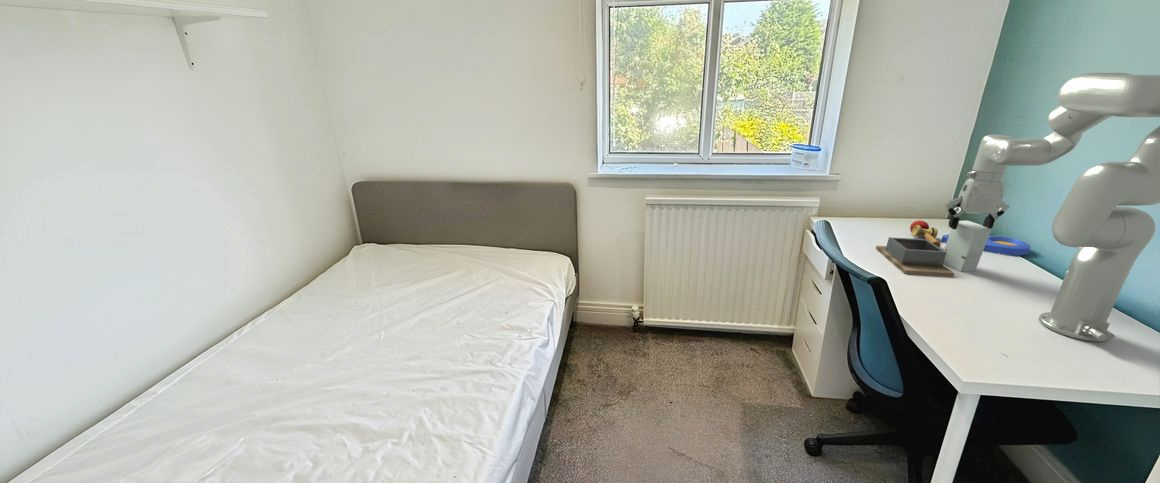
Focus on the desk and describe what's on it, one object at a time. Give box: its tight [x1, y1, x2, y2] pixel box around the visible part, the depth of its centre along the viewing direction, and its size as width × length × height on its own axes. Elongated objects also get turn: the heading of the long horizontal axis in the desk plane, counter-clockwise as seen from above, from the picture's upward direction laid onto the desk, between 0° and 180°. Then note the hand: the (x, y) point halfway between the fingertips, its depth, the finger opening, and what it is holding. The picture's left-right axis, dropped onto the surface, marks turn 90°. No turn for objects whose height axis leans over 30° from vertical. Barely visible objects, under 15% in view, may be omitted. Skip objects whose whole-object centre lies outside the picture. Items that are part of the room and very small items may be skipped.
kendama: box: [909, 219, 941, 248], centre depth 176 cm, size 8×6×18 cm
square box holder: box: [875, 237, 955, 278], centre depth 156 cm, size 22×14×6 cm, turn 170°
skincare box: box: [943, 220, 992, 272], centre depth 151 cm, size 8×6×15 cm
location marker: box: [941, 234, 1031, 257], centre depth 170 cm, size 13×3×25 cm
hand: (969, 228), depth 149 cm, fingers open, 9 cm apart
